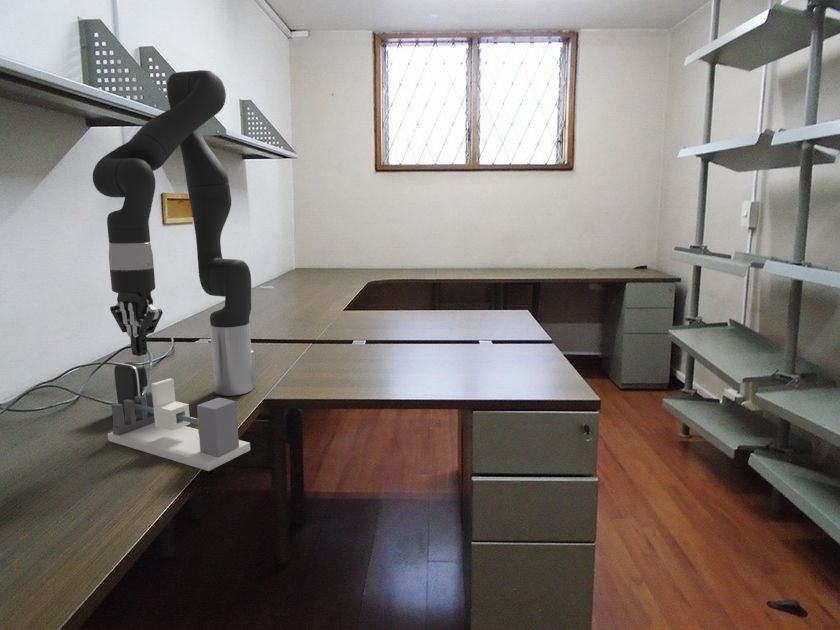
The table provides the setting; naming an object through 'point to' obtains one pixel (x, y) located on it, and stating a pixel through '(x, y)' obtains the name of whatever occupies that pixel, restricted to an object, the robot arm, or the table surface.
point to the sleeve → (167, 406)
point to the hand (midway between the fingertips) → (139, 354)
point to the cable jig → (181, 432)
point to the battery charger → (129, 381)
